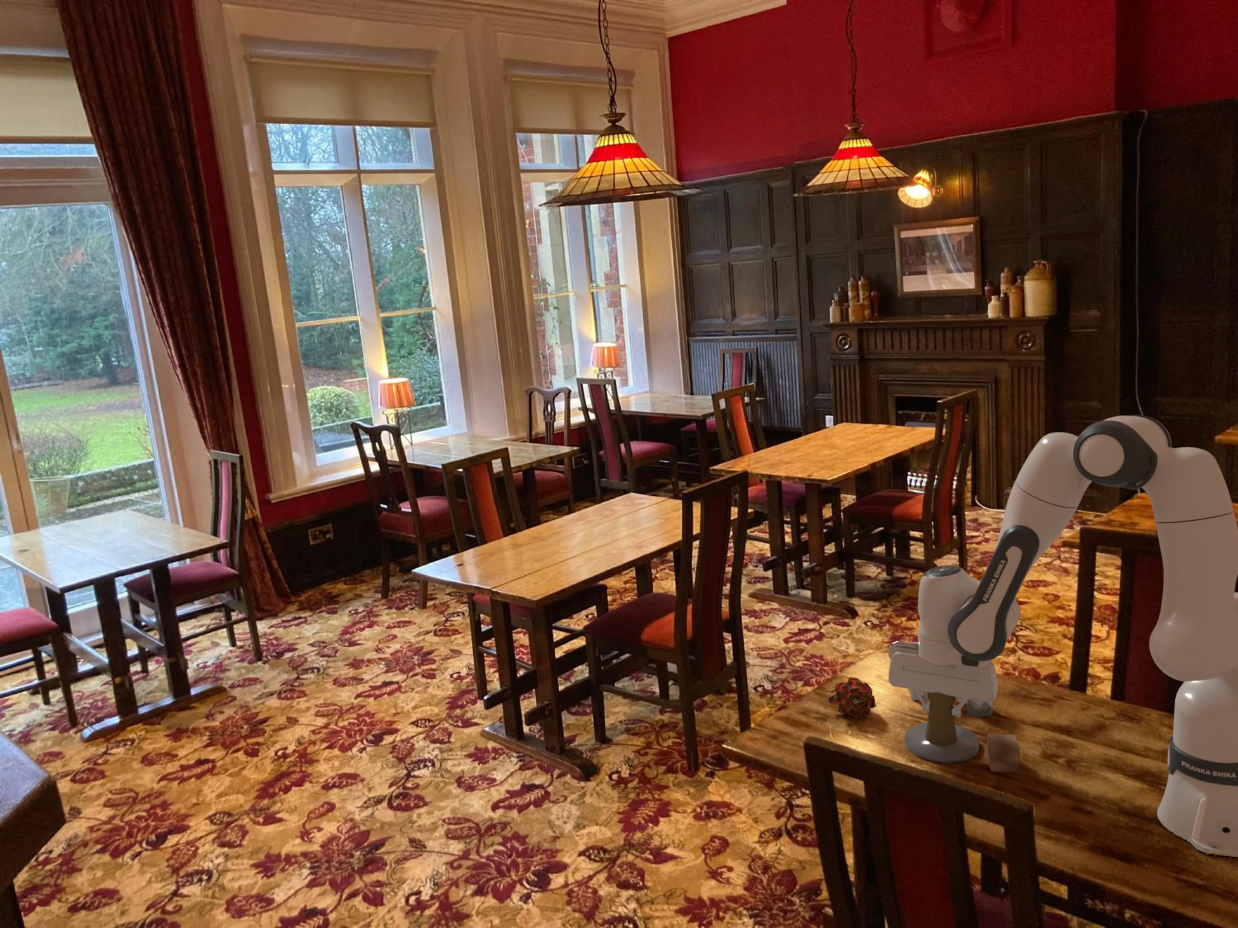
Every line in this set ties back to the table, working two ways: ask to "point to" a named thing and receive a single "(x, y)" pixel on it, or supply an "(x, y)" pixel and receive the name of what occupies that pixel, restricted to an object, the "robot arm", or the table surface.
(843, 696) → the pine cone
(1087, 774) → the table surface
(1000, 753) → the light brown cube
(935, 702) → the cork
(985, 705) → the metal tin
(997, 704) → the table surface
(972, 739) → the smooth pebble
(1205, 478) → the robot arm
